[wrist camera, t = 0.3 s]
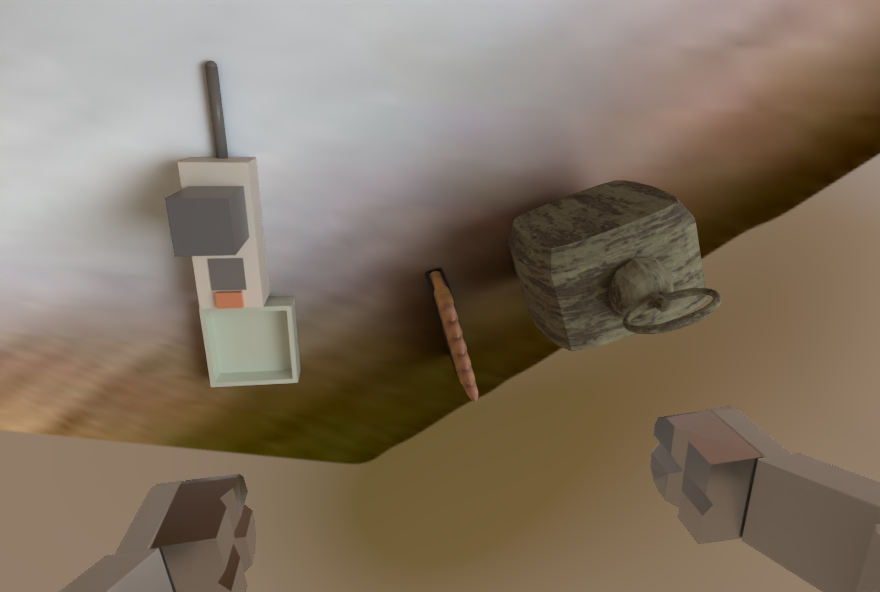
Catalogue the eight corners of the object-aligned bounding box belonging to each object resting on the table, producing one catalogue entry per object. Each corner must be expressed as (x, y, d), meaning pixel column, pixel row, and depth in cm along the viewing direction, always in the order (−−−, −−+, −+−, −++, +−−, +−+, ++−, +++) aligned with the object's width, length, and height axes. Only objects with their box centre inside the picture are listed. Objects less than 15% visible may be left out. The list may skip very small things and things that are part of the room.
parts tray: (206, 299, 55) (198, 308, 53) (294, 296, 57) (291, 305, 54) (217, 374, 58) (210, 387, 56) (300, 370, 60) (297, 382, 57)
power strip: (177, 59, 47) (158, 56, 43) (246, 61, 48) (235, 58, 44) (210, 294, 55) (198, 311, 51) (269, 292, 56) (262, 309, 52)
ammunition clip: (425, 272, 58) (440, 314, 47) (441, 267, 58) (460, 308, 47) (449, 354, 62) (468, 411, 51) (464, 350, 62) (487, 405, 51)
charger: (196, 181, 50) (164, 198, 42) (249, 181, 51) (228, 198, 42) (203, 230, 52) (174, 256, 43) (255, 230, 52) (235, 255, 44)
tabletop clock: (507, 288, 60) (600, 409, 37) (484, 214, 56) (570, 296, 33) (626, 243, 60) (794, 336, 37) (610, 167, 56) (784, 216, 33)
